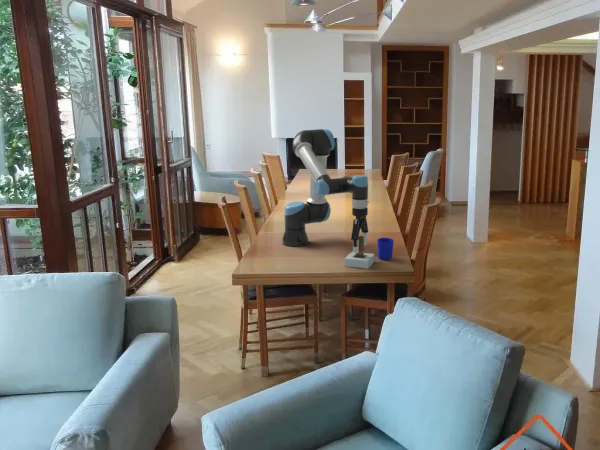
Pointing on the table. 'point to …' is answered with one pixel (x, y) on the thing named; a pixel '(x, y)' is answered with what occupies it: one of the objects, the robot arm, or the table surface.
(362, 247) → the peg
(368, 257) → the socket
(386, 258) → the mug
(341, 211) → the table surface
